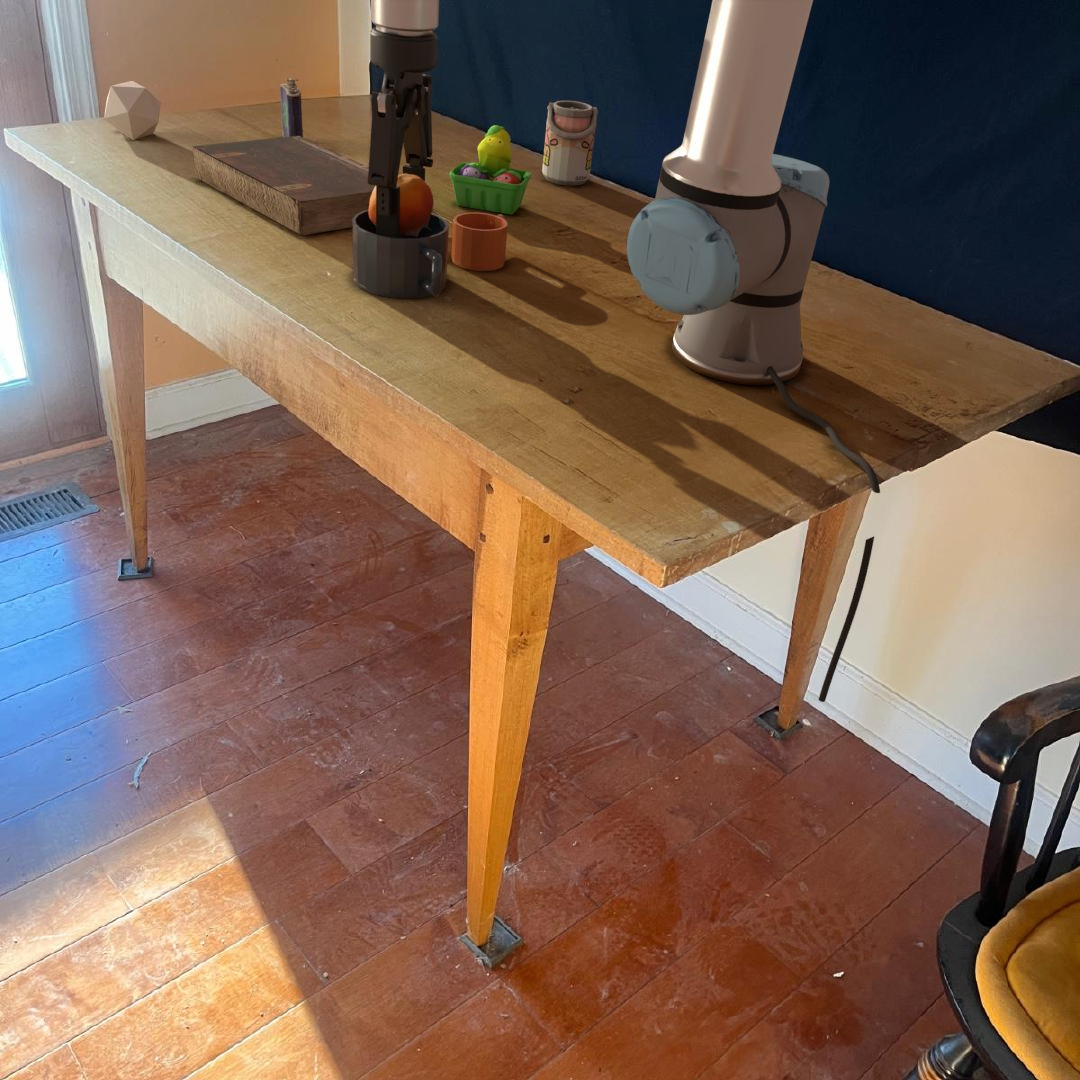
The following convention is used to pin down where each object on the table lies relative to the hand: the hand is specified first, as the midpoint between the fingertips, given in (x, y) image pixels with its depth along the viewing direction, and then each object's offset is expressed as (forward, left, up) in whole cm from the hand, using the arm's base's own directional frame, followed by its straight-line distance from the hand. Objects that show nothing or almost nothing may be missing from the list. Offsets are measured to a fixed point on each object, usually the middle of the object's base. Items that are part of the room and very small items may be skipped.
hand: (400, 228), depth 128 cm
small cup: (+3, -15, -7) cm, 16 cm away
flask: (+61, -13, -7) cm, 63 cm away
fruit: (0, 0, 0) cm, 0 cm away
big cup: (-2, 0, -7) cm, 7 cm away
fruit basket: (+22, -28, -7) cm, 37 cm away
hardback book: (+34, -2, -7) cm, 35 cm away
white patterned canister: (+29, -48, -7) cm, 57 cm away
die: (+73, +10, -7) cm, 74 cm away
